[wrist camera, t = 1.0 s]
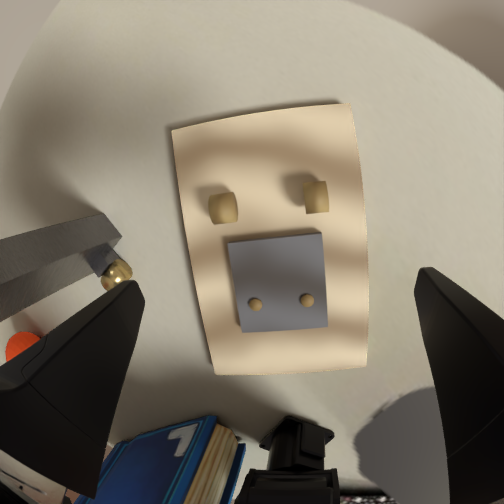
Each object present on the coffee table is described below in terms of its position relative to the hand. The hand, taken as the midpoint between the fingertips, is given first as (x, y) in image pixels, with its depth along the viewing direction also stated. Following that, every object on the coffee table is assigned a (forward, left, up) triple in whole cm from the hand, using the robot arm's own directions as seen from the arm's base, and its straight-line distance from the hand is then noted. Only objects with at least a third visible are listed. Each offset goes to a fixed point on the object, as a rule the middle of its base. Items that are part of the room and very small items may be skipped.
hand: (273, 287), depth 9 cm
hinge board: (-3, 0, -15) cm, 15 cm away
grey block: (-11, +14, -15) cm, 23 cm away
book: (-33, -1, -15) cm, 36 cm away
